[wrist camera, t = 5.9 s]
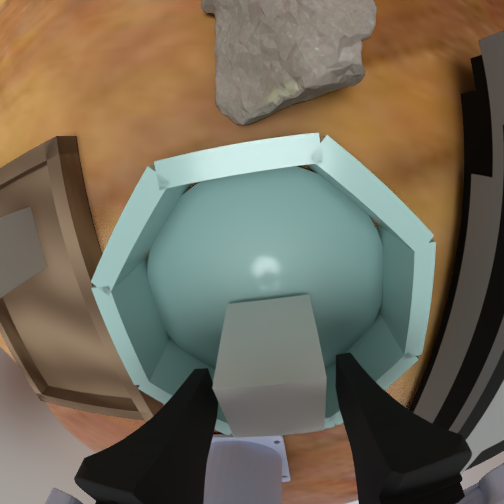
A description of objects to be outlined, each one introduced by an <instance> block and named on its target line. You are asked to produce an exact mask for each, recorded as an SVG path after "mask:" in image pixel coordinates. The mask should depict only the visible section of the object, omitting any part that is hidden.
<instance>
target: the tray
mask: <svg viewBox="0 0 504 504" xmlns="http://www.w3.org/2000/svg"><path fill="white" fill-rule="evenodd" d="M28 207H31V210H32V215H33V219H34V223H35V227H36V230H37V234H38V238H39V241H40V245H41V248H42V251H43V255H44V258H45V261H46V264H47V267H46V268H44V269H43V270H41V271H40V272H38V273H37V274H35V275H34V276H32V277H31V278H29V279H28V280H26V281H25V282H23V283H22V284H20V285H19V286H17V287H16V288H14V289H13V290H11V291H10V292H9V293H7V294H6V295H4V296H3V297H2V298H0V333H1V335H2V337H3V339H4V340H5V342H6V344H7V346H8V348H9V350H10V352H11V354H12V355H13V357H14V359H15V361H16V362H17V364H18V366H19V368H20V369H21V371H22V372H23V374H24V376H25V377H26V379H27V380H28V382H29V384H30V385H31V387H32V388H33V390H34V391H35V393H36V394H37V396H38V397H39V399H40V400H41V401H44V402H48V403H52V404H55V405H59V406H64V407H68V408H72V409H77V410H81V411H86V412H92V413H97V414H103V415H109V416H115V417H122V418H129V419H138V420H147V421H149V420H150V419H151V418H152V417H153V416H154V415H155V414H156V413H157V412H158V411H159V410H160V409H161V408H162V406H163V403H161V402H160V401H158V400H156V399H154V398H153V397H151V396H149V395H148V394H146V393H144V392H143V391H141V390H139V389H138V387H139V385H134V384H133V382H132V380H131V378H130V376H129V374H128V372H127V370H126V368H125V366H124V364H123V362H122V360H121V358H120V356H119V354H118V352H117V350H116V347H115V345H114V343H113V341H112V339H111V336H110V334H109V332H108V330H107V327H106V325H105V322H104V320H103V318H102V315H101V313H100V310H99V308H98V305H97V303H96V300H95V297H94V295H93V292H92V289H91V287H93V286H94V284H93V283H91V280H92V278H93V276H94V273H95V271H96V268H97V266H98V264H99V261H100V259H101V257H102V253H101V250H100V247H99V243H98V240H97V236H96V232H95V228H94V225H93V221H92V217H91V213H90V208H89V204H88V200H87V195H86V191H85V186H84V181H83V176H82V170H81V165H80V159H79V153H78V146H77V139H76V136H56V137H54V138H52V139H50V140H48V141H46V142H45V143H43V144H41V145H39V146H37V147H35V148H33V149H32V150H30V151H28V152H26V153H25V154H23V155H21V156H19V157H18V158H16V159H14V160H13V161H11V162H10V163H8V164H6V165H5V166H3V167H2V168H0V217H3V216H5V215H8V214H11V213H14V212H16V211H19V210H22V209H25V208H28Z"/></svg>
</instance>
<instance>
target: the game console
mask: <svg viewBox="0 0 504 504" xmlns="http://www.w3.org/2000/svg"><path fill="white" fill-rule="evenodd" d="M479 45H480V49H481V53H482V55H480V56H477V57H474V58H471V64H472V69H473V75H474V81H475V88H476V91H472V92H467V93H463V94H461V101H462V112H463V125H464V192H463V206H462V217H461V227H460V235H459V242H458V249H457V255H456V261H455V266H454V272H453V277H452V282H451V286H450V291H449V295H448V299H447V303H446V307H445V311H444V315H443V319H442V322H441V326H440V329H439V333H438V336H437V339H436V342H435V345H434V348H433V351H432V354H431V357H430V360H429V363H428V366H427V368H426V371H425V374H424V376H423V379H422V381H421V384H420V386H419V389H418V391H417V394H416V396H415V398H414V401H413V403H412V405H411V407H410V411H411V412H413V413H414V414H416V415H418V416H420V417H421V418H423V419H425V420H427V421H429V422H430V423H432V424H435V425H437V426H439V427H441V428H444V429H446V430H449V431H452V432H455V433H458V434H461V435H462V436H463V438H464V439H465V440H466V442H467V443H468V445H469V447H470V449H471V451H472V457H471V459H470V460H469V462H468V463H467V465H466V466H465V467H464V468H463V470H462V471H461V472H460V474H462V473H463V472H464V471H465V470H467V469H469V468H472V467H474V466H476V465H478V464H480V463H482V462H484V461H486V460H488V459H490V458H492V457H493V456H495V455H497V454H499V453H501V452H502V451H504V31H501V32H498V33H496V34H493V35H490V36H488V37H485V38H483V39H480V40H479Z"/></svg>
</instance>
